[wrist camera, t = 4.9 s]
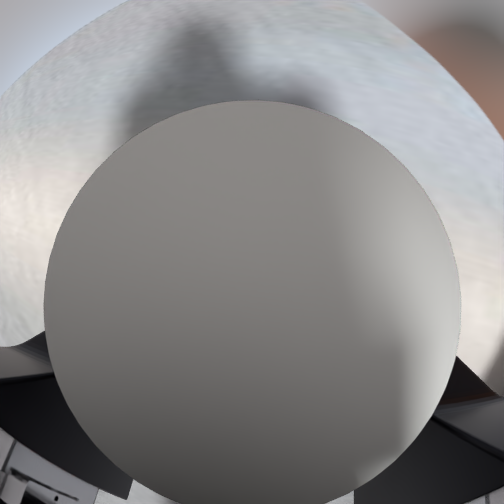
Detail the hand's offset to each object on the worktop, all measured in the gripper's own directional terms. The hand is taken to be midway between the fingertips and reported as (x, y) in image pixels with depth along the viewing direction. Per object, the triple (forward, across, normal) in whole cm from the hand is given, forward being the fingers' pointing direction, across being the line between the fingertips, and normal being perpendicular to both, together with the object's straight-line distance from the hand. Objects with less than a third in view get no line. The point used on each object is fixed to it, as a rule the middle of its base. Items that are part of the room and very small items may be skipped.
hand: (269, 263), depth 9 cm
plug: (+4, 0, +6) cm, 7 cm away
